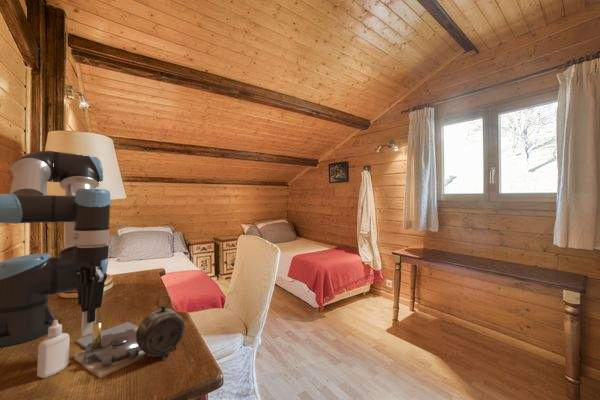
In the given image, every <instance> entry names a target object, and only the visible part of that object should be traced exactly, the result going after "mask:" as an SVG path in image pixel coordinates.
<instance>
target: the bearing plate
mask: <svg viewBox="0 0 600 400" xmlns="http://www.w3.org/2000/svg"><path fill="white" fill-rule="evenodd" d="M84 354H85V349H84V350H81V351H78V352H76V353H73V354H72V359H74V360H75V361H77V362H78V364H79V363H80V365H82V366H83V367H84V368H85V369H87V370H88V371H89V372H91V374H93V375H95V376H96V377H97V378H98V379H101V378H104V377H106V376H109V375H110V374H112V373H114V372H117V371H119V370H121V369H122V368H125V367H126V366H129V365H132V364H133V363H135V362H138V361H140V360H141V359H142V358H143V356H144V354H145V353H144V352H143V350H140V351H139V355H138V356H136V357H134V358H132V359H129V358H124V359H121V360H117V361H114V362H113V363H112V364H111V365H103V366H102V362H97V361H93V362H91V363H88V364H87V363H86V362H84ZM148 356H149V355H147V356H146V357H148Z"/></svg>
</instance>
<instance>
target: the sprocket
mask: <svg viewBox="0 0 600 400" xmlns="http://www.w3.org/2000/svg"><path fill="white" fill-rule="evenodd" d="M102 323H103V322H102V321H96V323H94V324H93V333H92V334H93V338H92V343H89V344H88V345H87V346H86V347H85V348H84V350H85V354H84V362H86V363H87V364H88V363H91V362H93V361H97V362H102V366H103V365H111V364H112V363H113V362H114V361H117V360H121V359H124V358H129V359H132V358H134V357H136V356H138V355H139V351H140V350H142V349H141V348H140V347H139V346H138V344H137V341H136V333H137V331H134V329H129V330H126V331H125V332H121V333H117V334H111V333H110V334H107V335H104V336H102V339H101V331H102V326H103V324H102Z"/></svg>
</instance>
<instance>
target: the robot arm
mask: <svg viewBox="0 0 600 400" xmlns="http://www.w3.org/2000/svg"><path fill="white" fill-rule="evenodd" d="M77 154H78V153H72V152H71V153H69V152H60V151H53V150H37V151H34V152H29V153H26V154H24V155H22V156H20V157H18V158H17V159H16V160H15V161H14V162H13V163H12V165H11V169H10V171H11V175H12V176H13V179H12V183H11V186H10V191H9V193H0V224H15V225H17V224H31V223H33V224H35V223H37V224H39V223H64V247H63V248H62V249H60V251H58V256H55V257H54V256H53V257H52V255H51V254H50V253H49V252H41V253H32V254H25V255H20V256H16V257H12V258H8V259H5V260H2V261H0V347H7V346H13V345H18V344H21V343H25V342H28V341H32V340H35V339H37V338H40V337H43V336H45V335H48V328H49V327H50V326H52V324H53V321H54V320H56V318H55V316H54V314H53V312H52V309H51V307H50V305H49V296H50V295H57V294H63V293H69V292H76V291H77V292H76V293H77V305H78V306H80V310H81V325H80V326H81V328H80V329H81V330H80V335H81V336H83V337H86V336H89V335H92V334H93V324H94V323H96V322H97V309H98V308H99V309H100V308H102V302H103V295H104V289H105V283H106V280H107V277H108V274H107V271H108V267H109V253H110V251H109V248H110V246H109V245H108V244H109V243H110V230H111V229H110V215H111V213H110V212H111V204H112V200H111V191H110V190H108V189H106V188H105V189H103V188H99V186H100V185H99V183H98V182H99V181H100V182H101V181H103V180H104V170H103V164H102V162H101V159H98V157H97V156H95V157H90V156H91V155H88V156H83V155H84V154H79V155H77ZM53 163H54V167H53ZM52 180H53V181H52ZM48 183H59V186H60V188H61V189H62V190H64V192H65V195H55V194H54V195H50V194H49V195H48ZM96 187H98V188H97V189H95V188H96Z"/></svg>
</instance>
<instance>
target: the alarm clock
mask: <svg viewBox="0 0 600 400" xmlns="http://www.w3.org/2000/svg"><path fill="white" fill-rule="evenodd" d="M163 297H167V298H168V303H167V304H163V305H162V306H160V305H159V301H160V300H161V298H163ZM170 302H171V297H170V296H169V295H168V294H163V295H160V296H159V297H158V299H157V301H156V306H157V307H158V308H159V309H156V310H154V311H151V312H150V313H149V314H148V315H147V316H146V317H145V318H144V319H143V320H142V321H141V322H140V324H139V326H138V327H139V328H138V330H137V333H136V341H137V344H138V346H139V347H140V348H141V349H142V350H143V352H144V353H145V354H144V356H143V358H142V359H140V360H139V361H140V363H143V362H144V360H145V359H146V358H147V357H148V356H150V357H159V356H160V357H161V358H162V361H165V360H166V354H167V353H169V352H170V351H172V350H177V348H178V347H177V345H178V344H179V343H180V342H181V340H182V337H183V335H184V334H185V327H186V325H185V321H184V318H183V317H182V316H181V315H180V313H178V312H176V310H173V309H172V308H168V305H169V304H170ZM166 307H167V308H166ZM147 355H148V356H147Z"/></svg>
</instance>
